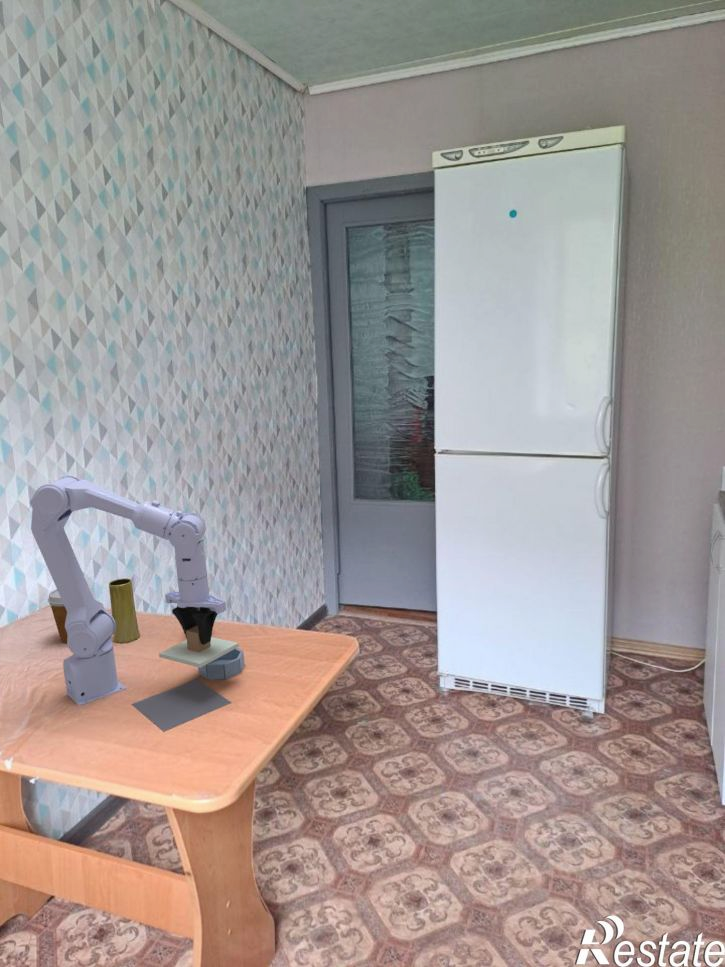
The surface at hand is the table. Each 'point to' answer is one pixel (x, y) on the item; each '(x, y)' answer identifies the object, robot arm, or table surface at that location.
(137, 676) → the table surface
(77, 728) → the table surface
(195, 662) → the lid
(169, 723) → the mat
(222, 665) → the bowl
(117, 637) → the vase
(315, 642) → the table surface
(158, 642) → the table surface
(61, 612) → the disposable coffee cup
